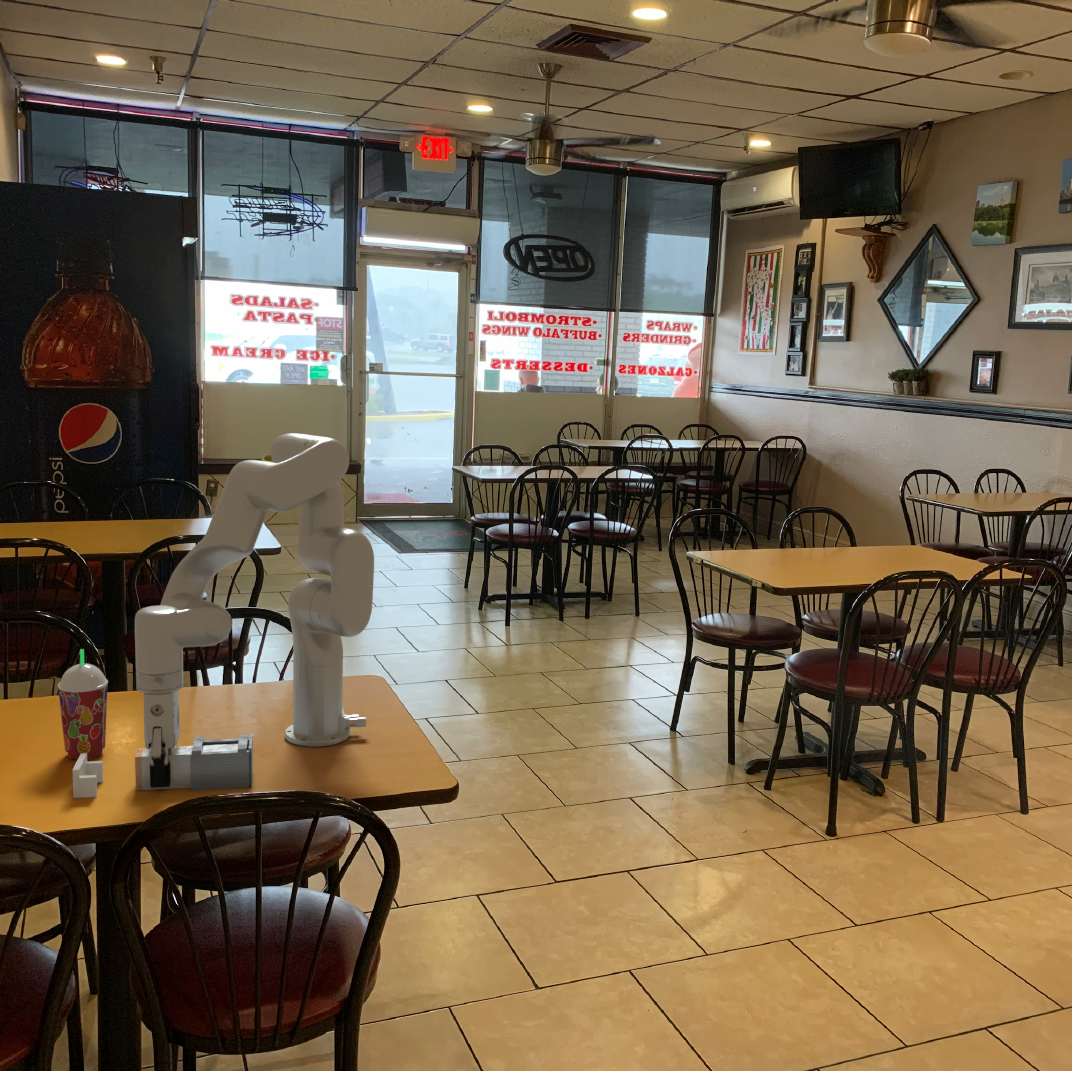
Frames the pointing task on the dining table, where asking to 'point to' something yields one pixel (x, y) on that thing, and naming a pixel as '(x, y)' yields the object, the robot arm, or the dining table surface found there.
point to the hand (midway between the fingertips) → (161, 779)
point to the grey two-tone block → (172, 765)
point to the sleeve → (222, 764)
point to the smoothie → (83, 709)
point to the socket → (86, 777)
